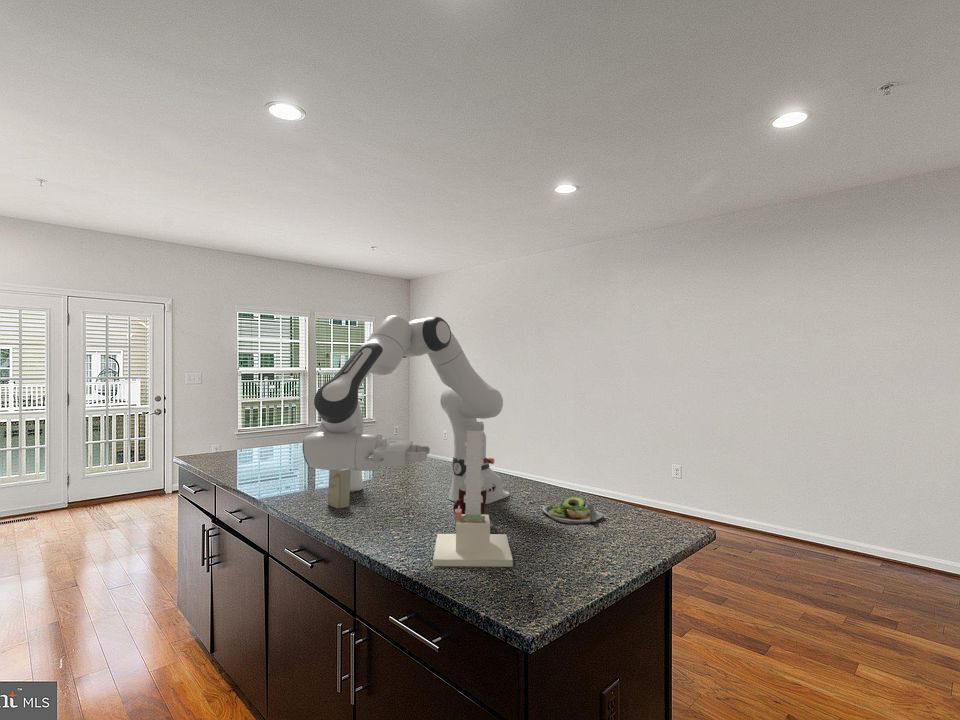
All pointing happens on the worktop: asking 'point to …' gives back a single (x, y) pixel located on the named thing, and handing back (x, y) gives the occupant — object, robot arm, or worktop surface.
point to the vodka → (356, 480)
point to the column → (473, 471)
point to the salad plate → (572, 511)
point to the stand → (472, 545)
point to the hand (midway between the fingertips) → (428, 453)
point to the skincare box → (339, 488)
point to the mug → (463, 505)
